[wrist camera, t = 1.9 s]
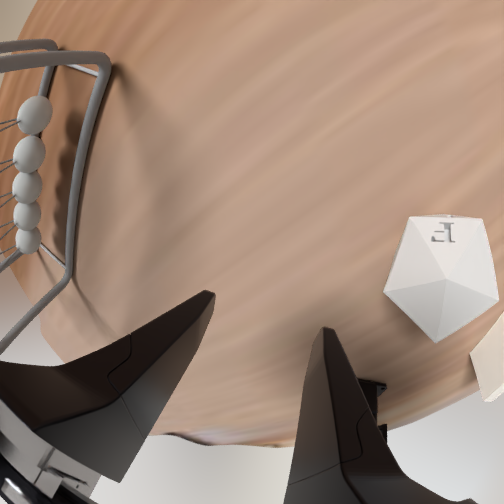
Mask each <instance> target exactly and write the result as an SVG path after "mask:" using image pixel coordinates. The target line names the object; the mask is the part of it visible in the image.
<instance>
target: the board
mask: <svg viewBox="0 0 504 504" xmlns="http://www.w3.org/2000/svg"><path fill="white" fill-rule="evenodd" d="M470 356H471V359H472V363H473V366H474V369H475V372H476V376H477V379H478V383H479V387H480V391H481V394H482V398H483V401H493V400H495V399H496V398H497V397H498V396H499V395H501V394H502V393H503V392H504V311H503V313H502V314H501V316H500V317H499V318H498V320H497V321H496V322H495V323H494V325H493V326H492V327H491V329H490V330H489V331H488V332H487V334H486V335H485V336H484V337H483V338H482V340H481V341H480V342H479V343H478V344H477V345H476V347H475V348H474V349H473V350H472V351H471V352H470Z"/></svg>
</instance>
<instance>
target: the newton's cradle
mask: <svg viewBox="0 0 504 504" xmlns="http://www.w3.org/2000/svg"><path fill="white" fill-rule="evenodd" d="M33 49H46V50H47V51H44V52H31V53H21V54H13V55H6V56H0V73H4V72H9V71H15V70H21V69H28V68H36V67H45V70H44V73H43V77H42V81H41V85H40V89H39V93H38V96H34V97H31V98H29V99H28V100H26V101H25V102H24V103H23V105H22V106H21V108H20V110H19V112H18V116H17V119H12V120H8V121H5V122H1V123H0V124H4V123H7V122H11V121H15V120H17V122H16V123H13V124H11V125H9V126H7V127H5V128H3V129H1V130H0V132H1V131H3V130H5V129H7V128H9V127H11V126H13V125H15V124H17V123H18V126H19V128H20V130H21V131H22V132H24V133H25V134H29V135H31V136H28V137H26V138H24V139H22V140H21V141H20V142H19V143H18V144H17V146H16V148H15V150H14V154H13V159H10V160H7V161H4V162H1V163H0V164H3V163H6V162H9V161H12V160H13V163H12V164H11V165H9V166H7V167H6V168H4V169H3V170H1V171H0V173H1V172H2V171H4V170H5V169H7V168H9V167H10V166H12V165H13V164H15V166H16V168H17V169H18V170H19V171H20V173H19V174H18V175H17V176H16V178H15V179H14V182H13V192H9V193H7V194H4V195H2V196H0V198H1V197H3V196H6V195H8V194H11V193H12V194H13V196H12V197H11V198H10V199H9V200H7V201H6V202H5V203H3V204H2V205H1V206H0V208H1V207H2V206H3V205H5V204H6V203H7V202H8V201H10V200H11V199H12V198H13V197H15V199H16V200H17V201H18V202H19V203H18V204H17V205H16V207H15V210H14V220H12V221H10V222H8V223H6V224H4V225H2V226H0V228H1V227H3V226H5V225H7V224H9V223H11V222H14V224H15V225H14V226H13V227H12V228H11V229H13V228H14V227H15V226H17V227H18V228H19V230H18V231H17V234H16V245H14V246H12V247H10V248H8V249H7V250H9V249H11V248H13V247H15V246H16V247H17V250H16V251H15V252H14V253H13V254H11V255H10V256H9V257H7V258H6V259H5V260H4V261H2V262H1V263H0V273H1V272H2V271H3V270H4V269H5V268H7V267H8V266H9V265H10V264H12V263H13V262H14V261H15V260H17V259H18V258H19V257H20V256H22V255H23V254H32V253H34V252H36V251H37V250H38V248H39V247H41V248H43V249H44V250H45V251H46V252H47V253H48V254H49V255H50V256H51V257H52V258H53V259H54V260H55V261H57V262H58V263H59V264H60V265H61V266H62V267H63V268H64V269H65V274H64V276H63V278H62V279H61V281H60V282H59V283H58V284H57V285H56V286H55V287H53V288H52V289H51V290H50V291H49V292H48V293H47V294H46V295H45V296H44V297H43V298H42V299H41V300H40V301H39V302H38V303H37V304H36V305H35V306H34V307H33V308H32V309H31V310H30V311H29V312H28V313H27V314H26V315H25V316H24V317H23V318H22V319H21V320H20V321H19V322H18V323H17V324H16V325H15V326H14V327H13V328H12V329H11V330H10V331H9V332H8V334H7V335H6V336H5V337H4V338H3V339H2V340H1V342H0V355H1V354H2V353H3V352H4V351H5V349H6V348H7V347H8V346H9V345H10V344H11V342H12V341H13V340H14V339H15V338H16V337H17V336H18V335H19V334H20V332H21V331H22V330H23V329H24V328H25V327H26V326H27V325H28V324H29V323H30V322H31V321H32V320H33V319H34V318H35V317H36V316H37V315H38V314H39V313H40V312H41V311H42V310H43V309H44V308H45V307H46V306H47V305H48V304H49V303H50V302H51V301H52V300H53V299H54V298H55V297H56V296H57V295H58V294H59V293H60V292H61V291H62V290H63V289H64V288H65V287H66V286H67V284H68V283H69V281H70V279H71V276H72V272H73V249H74V235H75V224H76V215H77V207H78V199H79V193H80V186H81V180H82V175H83V170H84V165H85V160H86V155H87V151H88V146H89V142H90V138H91V134H92V130H93V127H94V123H95V119H96V116H97V113H98V109H99V106H100V103H101V100H102V97H103V94H104V91H105V88H106V85H107V83H108V80H109V77H110V73H111V61H110V58H109V57H108V56H107V55H106V54H105V53H102V52H99V51H58V47H57V44H56V43H55V42H54V41H53V40H51V39H29V40H17V41H8V42H0V53H6V52H14V51H22V50H33ZM76 64H97V65H98V67H99V72H96V71H93V70H91V69H88V68H85V67H82V66H79V65H76ZM56 65H67V66H70V67H73V68H76V69H78V70H81V71H84V72H86V73H89V74H92V75H94V76H97V79H96V82H95V85H94V88H93V91H92V94H91V97H90V101H89V104H88V107H87V111H86V114H85V118H84V122H83V126H82V130H81V134H80V138H79V143H78V147H77V152H76V157H75V163H74V169H73V175H72V181H71V188H70V196H69V205H68V215H67V228H66V248H65V265H64V264H63V263H62V262H61V261H59V260H58V259H57V258H56V257H55V256H54V255H53V254H52V253H51V252H50V251H48V250H47V249H46V248H45V247H44V246H43V245H42V244H41V233H40V231H39V229H38V228H37V227H36V226H37V225H38V223H39V221H40V218H41V209H40V206H39V204H38V203H37V202H36V201H35V200H36V199H37V198H38V197H39V195H40V193H41V190H42V179H41V176H40V175H39V173H38V172H37V171H35V170H37V169H38V168H39V167H40V166H41V165H42V163H43V161H44V158H45V153H46V150H45V145H44V143H43V142H42V140H41V139H40V138H39V132H41V131H42V130H43V129H45V128H46V126H47V125H48V124H49V122H50V120H51V117H52V105H51V103H50V101H49V100H48V99H47V98H46V96H47V92H48V88H49V84H50V80H51V77H52V73H53V70H54V67H55V66H56ZM11 229H10V230H11ZM10 230H8V231H7V232H6V233H5V234H4V235H3V236H2V237H1V238H0V240H1V239H2V238H3V237H4V236H5V235H6V234H7V233H8V232H9V231H10ZM7 250H5V251H3V252H1V253H0V254H2V253H4V252H6V251H7Z"/></svg>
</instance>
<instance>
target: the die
mask: <svg viewBox="0 0 504 504" xmlns="http://www.w3.org/2000/svg"><path fill="white" fill-rule="evenodd" d="M383 292H384V293H385V294H386V295H387V296H388V297H389V298H390V299H391V300H392V301H393V302H394V303H395V304H396V305H397V306H398V307H399V308H400V309H401V310H402V311H403V312H405V313H406V314H407V315H408V316H409V317H410V318H411V319H412V320H413V321H414V322H415V323H416V324H417V325H418V326H419V327H420V328H421V329H422V330H423V331H424V332H425V333H426V334H427V335H428V336H429V337H430V338H431V340H432V341H433V342H434V343H437V342H439V341H440V340H442V339H444V338H445V337H447V336H449V335H450V334H452V333H454V332H455V331H457V330H458V329H460V328H461V327H463V326H464V325H466V324H467V323H469V322H470V321H472V320H473V319H475V318H476V317H478V316H479V315H481V314H482V313H483V312H485V311H486V310H487V309H489V308H490V307H491V306H493V305H494V304H495V303H497V302H498V301H499V296H498V289H497V282H496V276H495V270H494V265H493V260H492V255H491V251H490V246H489V242H488V238H487V234H486V230H485V227H484V223H483V220H482V219H480V218H472V217H465V216H457V215H449V214H438V215H425V216H412V217H409V219H408V222H407V224H406V227H405V229H404V232H403V234H402V237H401V239H400V242H399V244H398V247H397V249H396V251H395V255H394V259H393V262H392V265H391V269H390V272H389V275H388V279H387V282H386V285H385V288H384V291H383Z"/></svg>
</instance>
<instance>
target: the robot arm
mask: <svg viewBox="0 0 504 504" xmlns="http://www.w3.org/2000/svg"><path fill="white" fill-rule="evenodd" d="M215 298H216V295H215V293H213V292H210V291H207V290H203V291H202V292H200V293H198V294H197V295H195V296H193V297H191V298H190V299H188V300H186V301H185V302H183V303H181V304H180V305H178V306H176V307H174V308H173V309H171V310H169V311H168V312H166V313H164V314H162V315H161V316H159V317H157V318H156V319H154V320H152V321H151V322H149V323H147V324H145V325H144V326H142V327H140V328H138V329H137V330H135V331H133V332H132V333H131V335H130V334H128V335H126V336H125V337H123V338H121V339H119V340H117V341H116V342H114V343H112V344H110V345H108V346H106V347H104V348H101V349H99V350H97V351H95V352H92V353H90V354H88V355H85V356H83V357H81V358H78V359H76V360H73V361H71V362H69V363H66V364H63V365H59V366H37V365H27V364H18V363H9V362H4V361H0V496H1V497H2V498H3V499H4V500H5V501H6V502H7V503H8V504H97V503H96V502H94V501H93V500H91V499H89V497H90V495H91V493H92V491H93V490H94V487H95V486H96V484H97V482H98V480H99V478H100V476H101V475H103V476H105V477H107V478H109V479H112V480H114V481H116V482H118V483H120V482H121V481H122V479H123V477H124V475H125V474H126V472H127V470H128V469H129V467H130V465H131V463H132V462H133V460H134V458H135V456H136V455H137V453H138V452H139V450H140V448H141V446H142V445H143V443H144V441H145V439H146V438H147V436H148V434H149V433H150V431H151V429H152V427H153V426H154V424H155V422H156V421H157V419H158V417H159V415H160V414H161V412H162V410H163V409H164V407H165V405H166V403H167V402H168V400H169V398H170V397H171V395H172V393H173V391H174V390H175V388H176V386H177V385H178V383H179V381H180V379H181V378H182V376H183V374H184V373H185V371H186V369H187V367H188V366H189V364H190V362H191V360H192V359H193V357H194V355H195V354H196V352H197V350H198V348H199V345H200V343H201V341H202V338H203V336H204V334H205V331H206V329H207V326H208V324H209V322H210V319H211V317H212V314H213V311H214V305H215ZM386 389H387V385H386V384H382V383H376V382H371V381H365V380H360V379H357V378H356V376H355V374H354V371H353V369H352V367H351V365H350V362H349V360H348V358H347V356H346V354H345V352H344V349H343V347H342V345H341V343H340V341H339V339H338V337H337V335H336V332H335V330H334V329H332V328H328V327H322V328H321V330H320V332H319V334H318V335H317V337H316V339H315V341H314V343H313V347H312V351H311V355H310V360H309V364H308V368H307V372H306V376H305V381H304V386H303V394H302V401H301V409H300V416H299V422H298V429H297V435H296V441H295V448H294V453H293V459H292V464H291V470H290V475H289V480H288V486H287V489H286V494H285V498H284V504H477V503H476V502H475V501H473V500H472V499H470V498H469V499H466V500H463V501H459V502H456V501H450V500H447V499H445V498H443V497H441V496H439V495H437V494H436V493H434V492H432V491H430V490H429V489H427V488H425V487H423V486H422V485H420V484H418V483H417V482H415V481H413V480H412V479H410V478H409V477H408V476H406V474H405V473H404V472H403V471H402V470H401V468H400V467H399V465H398V463H397V461H396V460H395V458H394V456H393V454H392V452H391V450H390V449H389V447H388V445H387V424H382V425H380V426H377V413H378V398H377V397H378V396H379V395H381V394H382V393H383V392H384V391H385V390H386Z"/></svg>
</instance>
